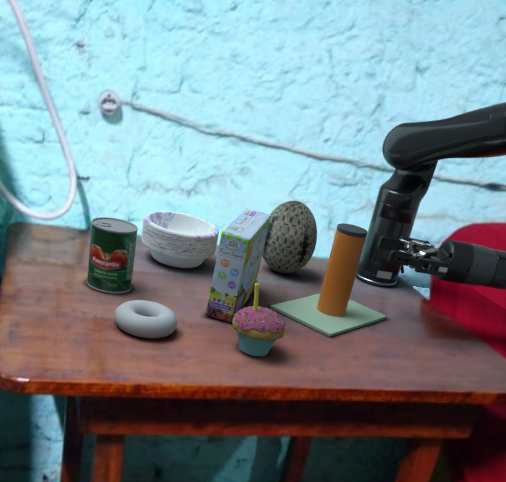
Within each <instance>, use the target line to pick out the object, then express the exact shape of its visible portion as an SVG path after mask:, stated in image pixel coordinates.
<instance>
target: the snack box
mask: <svg viewBox="0 0 506 482" xmlns="http://www.w3.org/2000/svg"><path fill="white" fill-rule="evenodd" d="M270 219H271V213H266V212H263V211H260V210H256V209H251V208H248V207H246V208H245V209H244V210H242V212H241V213H240V214H239V215H238V216H237V217H236V218H235V219H234V220H232V221H231V223H230V224H229V225H227V226H226V227H225V228H224V229H223V230H222V231H221V233H220V238H219V244H218V248H217V255H216V260H215V265H214V270H213V275H212V280H211V286H210V290H209V295H208V300H207V306H206V309H205V314H204V315H205V316H207V317H211V318H213V319H218V320H220V321H224V322H228V323H231V324H232V321H233V317H234V314H235V313H237V311H239V310H241V309H243V308H244V307H245V304H246V303H247V301H248V300H249V298H250V297H251V296H252V294H253V293H254V292H255V284H256V279H257V280H258V277H259V270H260V266H261V262H262V259H263V257H262V253H263V249H264V244H265V240H266V236H267V231H268V227H269V223H270Z"/></svg>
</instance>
